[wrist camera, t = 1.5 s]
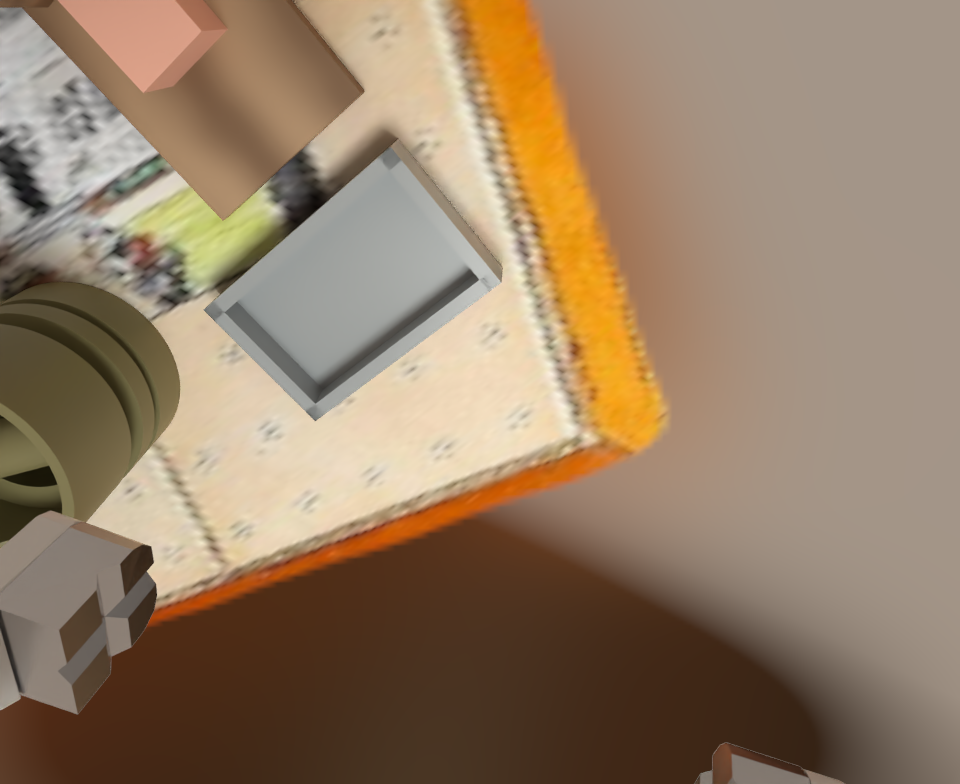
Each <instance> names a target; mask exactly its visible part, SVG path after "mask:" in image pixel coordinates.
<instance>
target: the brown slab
mask: <svg viewBox="0 0 960 784" xmlns="http://www.w3.org/2000/svg"><path fill="white" fill-rule="evenodd" d="M203 1H204V2H205V3H206V4H207V5H208V6H209V8H210V9H211V10H212V11H213V12H214V13H215V15H216V16H217V17H218V18H219V19H220V21H221V22H222V23H223V24H224V25H225V26H226V28H227V29H228V30H227V31H226V32H225V33H224V34H223V35H222V36H221V37H220V38H219V39H218V40H217V41H216V42H215V43H214V44H213V45H212V46H211V47H210V48H209V49H208V50H207V52H206V53H205V54H204V55H203V56H202V57H201V58H200V59H199V60H198V61H197V62H196V63H195V64H194V65H193V66H192V67H191V68H190V69H189V70H188V71H187V72H186V73H185V74H184V75H183V77H182V78H181V79H180V80H179V81H178V82H177V83H176V84H175V85H174V86H173V87H168V88H164V89H159V90H155V91H150V92H146V93H143V92H142V91H141V90H140V89H139V88H138V87H137V86H136V85H135V84H134V83H133V82H132V80H131V79H130V78H129V77H128V76H127V75H126V74H125V73H124V72H123V71H122V70H121V69H120V67H119V66H118V65H117V64H116V63H115V62H114V61H113V60H112V59H111V58H110V57H109V56H108V54H107V53H106V52H105V51H104V50H103V49H102V48H101V47H100V46H99V45H98V44H97V43H96V41H95V40H94V39H93V38H92V37H91V36H90V35H89V34H88V33H87V32H86V31H85V30H84V28H83V27H82V26H81V25H80V24H79V23H78V22H77V21H76V20H75V19H74V18H73V16H72V15H71V14H70V13H69V12H68V11H67V10H66V9H65V8H64V7H63V6H62V5H61V3H60V2H59V1H58V0H0V7H22V8H23V9H24V10H25V11H26V12H27V13H28V14H29V16H30V17H31V18H32V19H33V20H34V21H35V22H36V23H37V24H38V25H39V26H40V27H41V28H42V29H43V30H44V31H45V32H46V34H47V35H48V36H49V37H50V38H51V39H52V40H53V41H54V42H55V43H56V44H57V45H58V46H59V47H60V48H61V49H62V51H63V52H64V53H65V54H66V55H67V56H68V57H69V58H70V59H71V60H72V61H73V62H74V63H75V64H76V65H77V66H78V67H79V69H80V70H81V71H82V72H83V73H84V74H85V75H86V76H87V77H88V78H89V79H90V80H91V81H92V82H93V83H94V84H95V86H96V87H97V88H98V89H99V90H100V91H101V92H102V93H103V94H104V95H105V96H106V97H107V98H108V99H109V100H110V101H111V102H112V104H113V105H114V106H115V107H116V108H117V109H118V110H119V111H120V112H121V113H122V114H123V115H124V116H125V117H126V118H127V119H128V121H129V122H130V123H131V124H132V125H133V126H134V127H135V128H136V129H137V130H138V131H139V132H140V133H141V134H142V135H143V136H144V137H145V139H146V140H147V141H148V142H149V143H150V144H151V145H152V146H153V147H154V148H155V149H156V150H157V151H158V152H159V153H160V154H161V156H162V157H163V158H164V159H165V160H166V161H167V162H168V163H169V164H170V165H171V166H172V167H173V168H174V169H175V170H176V171H177V172H178V174H179V175H180V176H181V177H182V178H183V179H184V180H185V181H186V182H187V183H188V184H189V185H190V186H191V187H192V188H193V189H194V191H195V192H196V193H197V194H198V195H199V196H200V197H201V198H202V199H203V200H204V201H205V202H206V203H207V204H208V205H209V206H210V207H211V209H212V210H213V211H214V212H215V213H216V214H217V215H218V216H219V217H220V218H221V219H222V220H225V219H226V218H227V217H229V216H230V215H231V214H232V213H233V212H234V211H236V210H237V209H238V208H239V207H240V206H241V205H242V204H243V203H244V202H245V201H246V200H248V199H249V198H250V197H251V196H252V195H253V194H254V193H255V192H256V191H257V190H258V189H259V188H261V187H262V186H263V185H264V184H265V183H266V182H267V181H268V180H269V179H270V178H271V177H273V176H274V175H275V174H276V173H277V172H278V171H279V170H280V169H281V168H282V167H283V166H285V165H286V164H287V163H288V162H289V161H290V160H291V159H292V158H293V157H294V156H295V155H296V154H298V153H299V152H300V151H301V150H302V149H303V148H304V147H305V146H306V145H307V144H308V143H310V142H311V141H312V140H313V139H314V138H315V137H316V136H317V135H318V134H319V133H320V132H322V131H323V130H324V129H325V128H326V127H327V126H328V125H329V124H330V123H331V122H332V121H333V120H335V119H336V118H337V117H338V116H339V115H340V114H341V113H342V112H343V111H344V110H345V109H347V108H348V107H349V106H350V105H351V104H352V103H353V102H354V101H355V100H356V99H357V98H359V97H360V96H361V95H362V94H363V93H364V92H365V91H364V90H363V89H362V87H361V86H360V85H359V84H358V82H357V81H356V80H355V79H354V77H353V76H352V75H351V74H350V72H349V71H348V70H347V69H346V68H345V66H344V65H343V64H342V63H341V61H340V60H339V59H338V58H337V56H336V55H335V54H334V53H333V51H332V50H331V49H330V48H329V46H328V45H327V44H326V43H325V41H324V40H323V39H322V38H321V37H320V35H319V34H318V33H317V32H316V30H315V29H314V28H313V27H312V25H311V24H310V23H309V22H308V20H307V19H306V18H305V17H304V15H303V14H302V13H301V12H300V10H299V9H298V8H297V7H296V5H295V4H294V3H293V2H292V1H291V0H203Z"/></svg>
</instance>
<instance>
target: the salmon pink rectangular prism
mask: <svg viewBox="0 0 960 784" xmlns="http://www.w3.org/2000/svg"><path fill="white" fill-rule="evenodd" d="M58 1H59V2H60V3H61V5H62V6H63V7H64V8H65V9H66V10H67V11H68V12H69V13H70V14H71V15H72V16H73V18H74V19H75V20H76V21H77V22H78V23H79V24H80V25H81V26H82V27H83V28H84V30H85V31H86V32H87V33H88V34H89V35H90V36H91V37H92V38H93V39H94V40H95V41H96V43H97V44H98V45H99V46H100V47H101V48H102V49H103V50H104V51H105V52H106V53H107V54H108V56H109V57H110V58H111V59H112V60H113V61H114V62H115V63H116V64H117V65H118V66H119V67H120V69H121V70H122V71H123V72H124V73H125V74H126V75H127V76H128V77H129V78H130V79H131V80H132V82H133V83H134V84H135V85H136V86H137V87H138V88H139V89H140V90H141V91H142V92H143V93H146V92H150V91H155V90H159V89H164V88H168V87H173V86H174V85H175V84H176V83H177V82H178V81H179V80H180V79H181V78H182V77H183V75H184V74H185V73H186V72H187V71H188V70H189V69H190V68H191V67H192V66H193V65H194V64H195V63H196V62H197V61H198V60H199V59H200V58H201V57H202V56H203V55H204V54H205V53H206V52H207V50H208V49H209V48H210V47H211V46H212V45H213V44H214V43H215V42H216V41H217V40H218V39H219V38H220V37H221V36H222V35H223V34H224V33H225V32H226V31H227V30H228V29H227V28H226V26H225V25H224V24H223V23H222V22H221V21H220V19H219V18H218V17H217V16H216V15H215V13H214V12H213V11H212V10H211V9H210V8H209V6H208V5H207V4H206V3H205V2H204V1H203V0H58Z"/></svg>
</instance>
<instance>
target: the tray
mask: <svg viewBox="0 0 960 784" xmlns="http://www.w3.org/2000/svg"><path fill="white" fill-rule="evenodd" d="M502 270H503V268H502V267H501V266H500V264H499V263H498V262H497V261H496V259H495V258H494V257H493V256H492V254H491V253H490V252H489V251H488V249H487V248H486V247H485V246H484V245H483V243H482V242H481V241H480V240H479V238H478V237H477V236H476V235H475V233H474V232H473V231H472V230H471V228H470V227H469V226H468V225H467V224H466V222H465V221H464V220H463V219H462V217H461V216H460V215H459V214H458V212H457V211H456V210H455V209H454V207H453V206H452V205H451V204H450V203H449V201H448V200H447V199H446V198H445V196H444V195H443V194H442V193H441V191H440V190H439V189H438V188H437V186H436V185H435V184H434V183H433V181H432V180H431V179H430V178H429V177H428V175H427V174H426V173H425V172H424V170H423V169H422V168H421V167H420V165H419V164H418V163H417V162H416V160H415V159H414V158H413V157H412V156H411V154H410V153H409V152H408V151H407V149H406V148H405V147H404V146H403V144H402V143H401V142H400V141H399V139H397V140H396V141H395V142H394V143H393V144H392V145H391V146H389V147H388V148H387V149H386V150H385V151H384V152H383V153H381V154H380V155H379V156H378V157H377V158H376V159H375V160H373V161H372V162H371V163H370V164H369V165H368V166H367V167H365V168H364V169H363V170H362V171H361V172H360V173H358V174H357V175H356V176H355V177H354V178H353V179H352V180H350V181H349V182H348V183H347V184H346V185H345V186H344V187H342V188H341V189H340V190H339V191H338V192H337V193H336V194H334V195H333V196H332V197H331V198H330V199H329V200H328V201H326V202H325V203H324V204H323V205H322V206H321V207H320V208H318V209H317V210H316V211H315V212H314V213H313V214H312V215H310V216H309V217H308V218H307V219H306V220H305V221H304V222H302V223H301V224H300V225H299V226H298V227H297V228H296V229H294V230H293V231H292V232H291V233H290V234H289V235H288V236H286V237H285V238H284V239H283V240H282V241H281V242H279V243H278V244H277V245H276V246H275V247H274V248H273V249H271V250H270V251H269V252H268V253H267V254H266V255H265V256H263V257H262V258H261V259H260V260H259V261H258V262H257V263H255V264H254V265H253V266H252V267H251V268H250V269H249V270H247V271H246V272H245V273H244V274H243V275H242V276H241V277H239V278H238V279H237V280H236V281H235V282H234V283H233V284H231V285H230V286H229V287H228V288H227V289H226V290H225V291H223V292H222V293H221V294H220V295H219V296H218V297H217V298H216V299H215V300H214V301H212V302H211V303H210V304H209V305H208V306H207V307H206V308H205V309H204V311H205V312H206V313H207V314H208V315H209V316H210V317H211V318H212V319H213V320H214V321H215V322H216V323H217V324H218V325H219V326H220V327H221V328H222V329H223V330H224V331H225V332H226V333H227V334H228V335H229V336H230V337H231V338H232V339H233V340H234V341H235V342H236V343H237V344H238V345H239V346H240V347H241V348H242V349H243V350H244V351H245V352H246V353H247V354H248V355H249V356H250V357H251V358H252V359H253V360H254V361H255V362H256V363H257V364H258V365H259V366H260V367H261V368H262V369H263V370H264V371H265V372H266V373H267V374H268V375H269V376H270V377H271V378H272V379H273V380H274V381H275V382H276V383H277V384H278V385H279V386H280V387H281V388H282V389H283V390H284V391H285V392H286V393H287V394H288V395H289V396H290V397H292V398H293V399H294V400H295V401H296V402H297V403H298V404H299V405H300V406H301V407H302V408H303V409H304V410H305V411H306V412H307V413H308V414H309V415H310V416H311V417H312V418H313V419H314V420H315V421H316V420H317V419H319V418H320V417H321V416H323V415H324V414H325V413H327V412H328V411H330V410H331V409H332V408H334V407H335V406H336V405H338V404H339V403H340V402H342V401H343V400H344V399H346V398H347V397H348V396H350V395H351V394H352V393H354V392H355V391H356V390H358V389H359V388H360V387H362V386H363V385H364V384H366V383H367V382H368V381H370V380H371V379H373V378H374V377H375V376H377V375H378V374H379V373H381V372H382V371H383V370H385V369H386V368H387V367H389V366H390V365H391V364H393V363H394V362H395V361H397V360H398V359H399V358H401V357H402V356H403V355H405V354H406V353H407V352H409V351H410V350H411V349H413V348H414V347H415V346H417V345H418V344H420V343H421V342H422V341H424V340H425V339H426V338H428V337H429V336H430V335H432V334H433V333H434V332H436V331H437V330H438V329H440V328H441V327H442V326H444V325H445V324H446V323H448V322H449V321H450V320H452V319H453V318H454V317H456V316H457V315H458V314H460V313H461V312H462V311H464V310H465V309H467V308H468V307H469V306H471V305H472V304H473V303H475V302H476V301H477V300H479V299H480V298H481V297H483V296H484V295H485V294H487V293H488V292H489V291H491V290H492V289H493V288H495V287H496V286H497V285H499V284H500V283H501V281H502Z"/></svg>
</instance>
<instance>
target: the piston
mask: <svg viewBox="0 0 960 784" xmlns="http://www.w3.org/2000/svg"><path fill="white" fill-rule="evenodd" d="M179 398H180V380H179V374H178V369H177V366H176V363H175V360H174V357H173V355H172V353H171V351H170V349H169V347H168V345H167V343H166V342H165V340H164V339H163V337H162V336H161V334H160V333H159V332H158V330H157V329H156V328H155V327H154V326H153V325H152V323H151V322H150V321H149V320H148V319H147V318H146V317H144V316H143V315H142V314H141V313H140V312H139V311H138V310H136V309H135V308H134V307H132V306H131V305H130V304H128V303H127V302H125V301H123V300H122V299H120V298H118V297H116V296H115V295H113V294H110V293H108V292H106V291H104V290H101V289H98V288H95V287H92V286H89V285H84V284H80V283H73V282H51V283H44V284H40V285H36V286H33V287H30V288H28V289H26V290H24V291H22V292H20V293H19V294H17V295H15V296H13V297H12V298H10V299H8V300H6V301H4V302H3V303H1V304H0V548H1V547H2V546H4V545H5V544H6V543H7V542H8V541H9V540H10V539H11V538H13V537H14V536H15V535H16V534H17V533H18V532H19V531H21V530H22V529H23V528H24V527H25V526H26V525H27V524H28V523H30V522H31V521H32V520H33V519H34V518H35V517H37V516H39V515H41V514H43V513H46V512H48V511H54V512H57V513H60V514H63V515H66V516H69V517H72V518H74V519H77V520H80V521H83V522H87V520H88V519H89V518H90V517H91V516H92V515H93V513H94V512H95V511H96V510H97V509H98V508H99V506H100V505H101V504H102V503H103V502H104V501H105V499H106V498H107V497H108V496H109V495H110V494H111V492H112V491H113V490H114V489H115V488H116V487H117V485H118V484H119V483H120V481H121V480H122V478H124V477H125V476H126V475H127V474H128V472H129V471H130V470H131V469H132V468H133V467H134V465H135V464H136V463H137V462H138V461H139V460H140V458H141V457H142V456H143V455H144V454H145V453H146V451H147V450H148V449H149V448H150V447H151V446H152V444H153V443H154V442H155V441H156V440H157V439H158V437H159V436H160V435H161V434H162V433H163V432H164V430H165V429H166V428H167V427H168V425H169V424H170V423H171V421H172V419H173V417H174V415H175V413H176V410H177V407H178V403H179Z"/></svg>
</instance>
